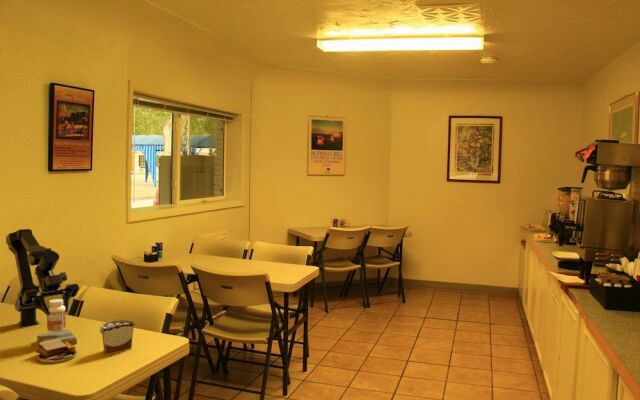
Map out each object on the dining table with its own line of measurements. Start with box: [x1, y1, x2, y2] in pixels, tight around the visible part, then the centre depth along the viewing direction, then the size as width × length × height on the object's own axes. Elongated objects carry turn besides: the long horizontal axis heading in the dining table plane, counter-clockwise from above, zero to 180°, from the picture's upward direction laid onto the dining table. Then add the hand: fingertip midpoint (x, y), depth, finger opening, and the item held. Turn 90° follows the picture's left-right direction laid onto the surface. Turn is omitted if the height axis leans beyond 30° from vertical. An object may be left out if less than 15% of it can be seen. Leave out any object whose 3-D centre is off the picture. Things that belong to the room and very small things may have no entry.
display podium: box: [36, 329, 78, 346], centre depth 194 cm, size 11×11×2 cm
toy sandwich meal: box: [35, 339, 78, 364], centre depth 181 cm, size 12×14×5 cm
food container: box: [99, 319, 136, 356], centre depth 188 cm, size 12×6×10 cm, turn 135°
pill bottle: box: [46, 298, 67, 333], centre depth 193 cm, size 6×6×11 cm
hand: (57, 313), depth 192 cm, fingers closed on pill bottle, 6 cm apart
